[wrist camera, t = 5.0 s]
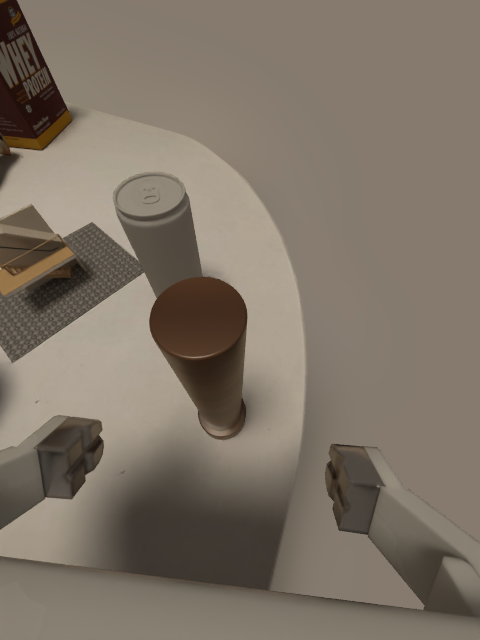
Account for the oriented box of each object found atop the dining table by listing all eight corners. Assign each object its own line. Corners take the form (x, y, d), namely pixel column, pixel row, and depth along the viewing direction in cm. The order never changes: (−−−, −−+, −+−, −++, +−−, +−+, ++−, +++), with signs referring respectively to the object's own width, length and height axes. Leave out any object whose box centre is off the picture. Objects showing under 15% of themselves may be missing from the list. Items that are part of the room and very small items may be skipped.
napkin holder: (94, 277, 28) (53, 220, 22) (32, 317, 26) (-36, 266, 19) (78, 261, 29) (33, 202, 23) (17, 298, 27) (-53, 243, 20)
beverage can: (201, 277, 28) (181, 166, 18) (210, 313, 26) (192, 210, 16) (157, 285, 28) (109, 175, 17) (162, 323, 25) (110, 223, 15)
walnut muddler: (248, 436, 20) (272, 365, 7) (202, 442, 20) (128, 383, 6) (242, 391, 22) (251, 260, 8) (200, 396, 22) (138, 270, 8)
